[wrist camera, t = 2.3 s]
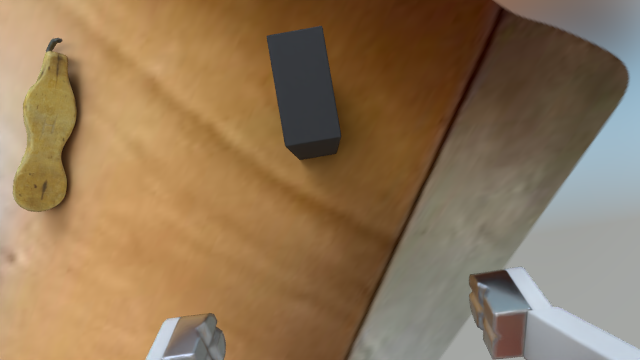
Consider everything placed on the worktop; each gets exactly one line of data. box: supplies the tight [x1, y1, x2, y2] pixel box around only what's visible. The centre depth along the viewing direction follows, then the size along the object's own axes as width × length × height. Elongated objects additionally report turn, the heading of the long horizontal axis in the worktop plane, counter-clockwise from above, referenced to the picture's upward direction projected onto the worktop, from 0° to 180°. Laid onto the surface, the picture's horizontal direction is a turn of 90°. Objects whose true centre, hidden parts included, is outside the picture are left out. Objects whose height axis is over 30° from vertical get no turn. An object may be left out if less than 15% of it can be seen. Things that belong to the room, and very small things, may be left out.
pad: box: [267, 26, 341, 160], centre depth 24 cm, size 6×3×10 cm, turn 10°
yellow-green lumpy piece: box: [13, 38, 77, 212], centre depth 29 cm, size 3×14×3 cm
